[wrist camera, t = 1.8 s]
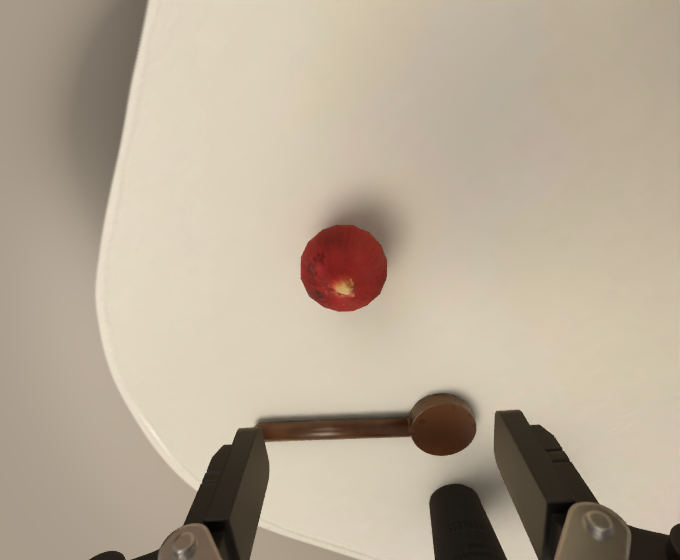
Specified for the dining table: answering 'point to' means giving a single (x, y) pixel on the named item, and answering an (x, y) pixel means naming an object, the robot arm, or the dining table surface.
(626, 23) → the dining table surface
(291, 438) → the spoon
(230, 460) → the robot arm
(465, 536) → the drinking cup
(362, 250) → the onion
